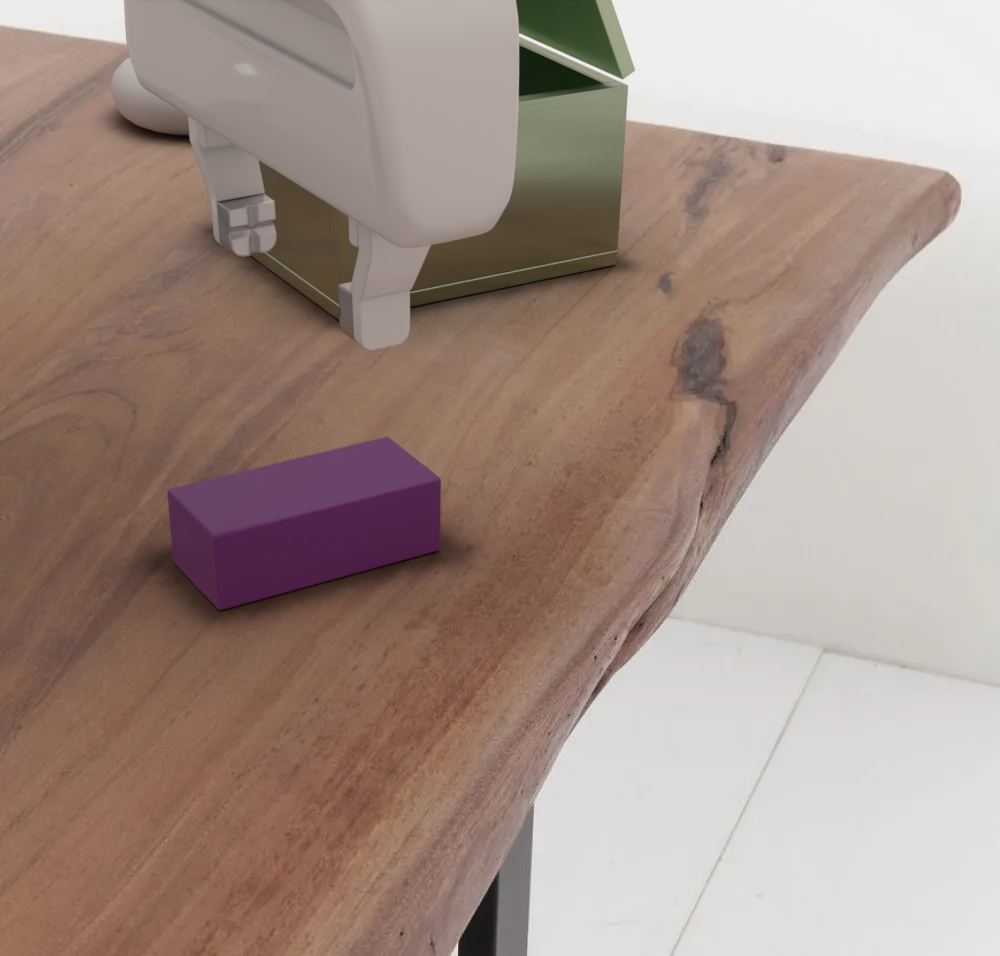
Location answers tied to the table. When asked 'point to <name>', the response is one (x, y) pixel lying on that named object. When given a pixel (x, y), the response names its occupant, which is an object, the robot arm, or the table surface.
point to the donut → (145, 104)
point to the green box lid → (578, 31)
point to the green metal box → (524, 222)
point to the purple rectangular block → (304, 521)
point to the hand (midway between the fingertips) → (307, 292)
